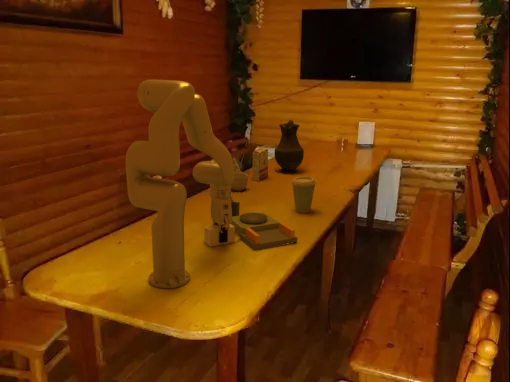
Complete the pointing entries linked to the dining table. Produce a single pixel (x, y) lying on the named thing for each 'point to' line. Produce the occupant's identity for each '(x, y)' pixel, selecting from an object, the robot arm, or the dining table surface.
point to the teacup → (239, 181)
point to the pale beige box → (217, 235)
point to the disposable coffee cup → (303, 193)
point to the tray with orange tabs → (262, 230)
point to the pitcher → (289, 148)
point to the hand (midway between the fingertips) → (220, 239)
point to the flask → (235, 207)
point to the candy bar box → (260, 164)
